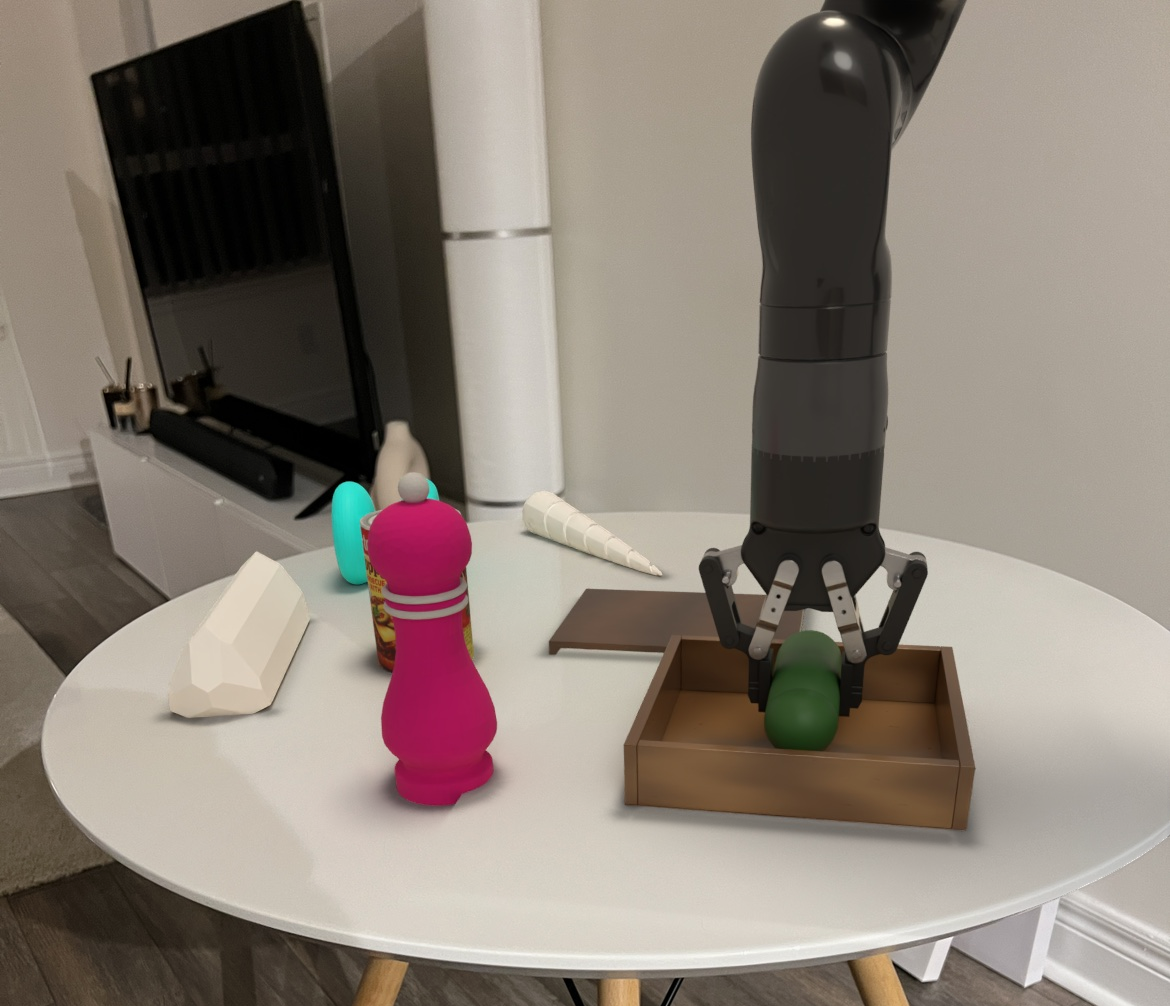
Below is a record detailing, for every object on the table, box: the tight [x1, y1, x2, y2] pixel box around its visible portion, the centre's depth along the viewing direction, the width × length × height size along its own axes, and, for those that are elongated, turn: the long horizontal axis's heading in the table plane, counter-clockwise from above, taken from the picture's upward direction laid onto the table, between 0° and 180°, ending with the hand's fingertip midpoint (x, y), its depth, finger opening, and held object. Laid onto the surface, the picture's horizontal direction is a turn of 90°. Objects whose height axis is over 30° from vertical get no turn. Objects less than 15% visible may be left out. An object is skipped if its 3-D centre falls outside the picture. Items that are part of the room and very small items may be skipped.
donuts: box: [331, 478, 440, 586], centre depth 109 cm, size 10×10×10 cm
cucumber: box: [764, 629, 842, 751], centre depth 70 cm, size 14×4×4 cm, turn 167°
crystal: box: [167, 550, 311, 719], centre depth 90 cm, size 7×7×24 cm
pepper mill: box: [367, 471, 498, 807], centre depth 66 cm, size 7×7×20 cm
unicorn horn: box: [521, 490, 663, 576], centre depth 116 cm, size 5×24×5 cm, turn 29°
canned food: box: [360, 508, 475, 674], centre depth 88 cm, size 8×8×12 cm
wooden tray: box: [623, 635, 976, 832], centre depth 71 cm, size 20×19×5 cm
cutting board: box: [548, 588, 805, 656], centre depth 94 cm, size 20×14×2 cm
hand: (804, 708), depth 71 cm, fingers closed on cucumber, 4 cm apart
